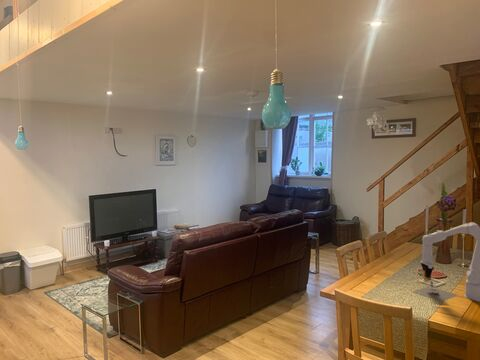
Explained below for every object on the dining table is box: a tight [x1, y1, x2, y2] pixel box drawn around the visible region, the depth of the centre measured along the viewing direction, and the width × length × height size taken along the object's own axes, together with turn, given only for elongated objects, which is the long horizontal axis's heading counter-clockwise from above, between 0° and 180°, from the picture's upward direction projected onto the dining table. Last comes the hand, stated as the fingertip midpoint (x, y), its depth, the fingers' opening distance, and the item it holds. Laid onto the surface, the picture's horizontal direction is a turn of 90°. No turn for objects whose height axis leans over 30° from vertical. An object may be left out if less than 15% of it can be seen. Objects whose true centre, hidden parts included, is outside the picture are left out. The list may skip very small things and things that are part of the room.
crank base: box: [412, 285, 458, 303], centre depth 218 cm, size 18×18×1 cm
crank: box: [429, 280, 439, 295], centre depth 221 cm, size 10×4×5 cm, turn 167°
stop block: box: [421, 269, 432, 281], centre depth 224 cm, size 4×4×5 cm
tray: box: [418, 277, 446, 288], centre depth 236 cm, size 11×11×2 cm
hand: (426, 276), depth 224 cm, fingers closed on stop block, 4 cm apart
